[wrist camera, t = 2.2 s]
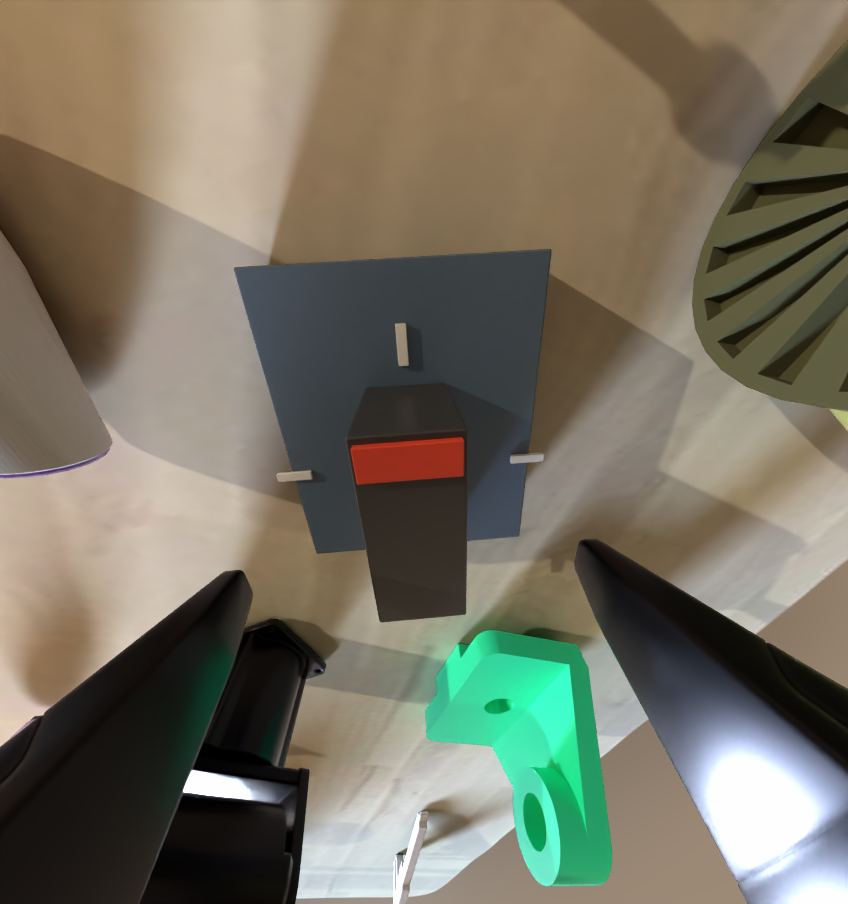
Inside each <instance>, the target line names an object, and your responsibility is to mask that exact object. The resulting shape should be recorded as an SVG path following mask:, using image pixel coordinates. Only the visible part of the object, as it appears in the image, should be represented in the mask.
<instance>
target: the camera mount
mask: <svg viewBox="0 0 848 904" xmlns="http://www.w3.org/2000/svg"><path fill="white" fill-rule="evenodd" d="M436 684H437V694H436V696H435V697H434V699H433V700H432V702H431V703H430V704H429V706H428V707H427V709H426V710H425V719H426V737H427V738H428V739H429V740H432V741H439V742H450V743H462V744H473V745H484V746H492V748H493V749H494V751H495V753H496V755H497V757H498V759H499V761H500V763H501V765H502V767H503V769H504V771H505V773H506V775H507V777H508V779H509V780H510V782H511V784H512V786H513V788H514V790H513V813H514V822H515V828H516V833H517V837H518V842H519V845H520V849H521V851H522V854H523V857H524V860H525V862H526V864H527V866H528V868H529V870H530V872H531V874H532V875H533V876H534V878H535V879H536V880H537V881H538V882H539V883H540V884H542V885H544V886H576V885H602V884H604V883H605V882H606V880H607V879H608V877H609V875H610V872H611V866H612V846H611V838H610V831H609V823H608V815H607V808H606V800H605V793H604V785H603V778H602V769H601V762H600V754H599V747H598V739H597V731H596V724H595V716H594V709H593V701H592V693H591V686H590V678H589V671H588V666H587V664H586V662H585V660H584V658H583V656H582V654H581V652H580V650H579V648H578V646H577V645H576V644H570V643H565V642H559V641H553V640H548V639H542V638H536V637H531V636H525V635H519V634H514V633H508V632H502V631H497V630H488V631H484V632H481V633H480V634H478V635H477V636H476V637H475V638H474V640H473V641H472V643H471V644H470V645H465V644H459V643H458V645H457V646H456V648H455V649H454V651H453V652H452V654H451V655H450V657H449V658H448V660H447V661H446V663H445V664H444V666H443V668H442V669H441V671H440V672H439V674H438V675H437V677H436Z"/></svg>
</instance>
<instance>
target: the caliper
mask: <svg viewBox="0 0 848 904" xmlns="http://www.w3.org/2000/svg"><path fill="white" fill-rule="evenodd" d="M427 820H428V811H426V812H418V815H417V818H416V822H415V825H414V829H413V832H412V836H411V839H410V843H409V846H408V850H407V853H406V857H405V860H404V861H403V854H396V860H394V894H393V898H394V904H406V901H407V898H408V894H409V891H410V886H409V885H410V882H411V879H412V876H413V872H414V869H415V866H416V863H417V859H418V856H419V853H420V850H421V846H422V843H423V840H424V837H425V833H426V830H427Z"/></svg>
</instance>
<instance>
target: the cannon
mask: <svg viewBox="0 0 848 904" xmlns="http://www.w3.org/2000/svg"><path fill="white" fill-rule="evenodd" d="M692 308H693V315H694V322H695V328H696V331H697V334H698V336H699V338H700V340H701V343H702V345H703V347H704V349H705V351H706V352H707V354H708V355H709V356H710V357H711V358H712V359H713V361H714V362H715V363H716V364H717V365H718V366H719V368H720V369H721V370H722V371H724V372H725V373H727V374H728V375H730V376H731V377H733V378H734V379H736V380H737V381H739V382H740V383H742V384H743V385H745V386H746V387H749V388H751V389H754V390H757V391H759V392H762V393H765V394H767V395H770V396H773V397H775V398H778V399H780V400H785V401H791V402H796V403H802V404H807V405H813V406H818V407H824V408H828V409H829V410H830V412H831V413H832V414H833V415H834V416H835V417H836V419H837V420H838V421H839V422H840V423H841V424H842V426H843V427H844V428H845V429H846V430H847V431H848V40H847V41H846V42H845V43H844V44H843V46H842V47H841V48H840V49H839V50H838V51H837V52H836V53H835V55H834V56H833V57H832V58H831V59H830V60H829V61H828V62H827V63H826V65H825V66H824V67H823V68H822V69H821V70H820V71H819V72H818V74H817V75H816V76H815V77H814V78H813V79H812V80H811V81H810V83H809V84H808V85H807V86H806V87H805V88H804V89H803V90H802V91H801V93H800V94H799V95H798V96H797V98H796V99H795V100H794V101H793V103H792V104H791V105H790V107H789V108H788V109H787V110H786V112H785V113H784V114H783V115H782V117H781V118H780V119H779V121H778V122H777V123H776V124H775V126H774V127H773V128H772V129H771V131H770V132H769V133H768V135H767V136H766V137H765V138H764V140H763V141H762V142H761V144H760V145H759V147H758V148H757V150H756V151H755V153H754V154H753V156H752V157H751V159H750V160H749V162H748V163H747V165H746V166H745V168H744V169H743V171H742V172H741V174H740V175H739V177H738V178H737V180H736V181H735V183H734V185H733V186H732V188H731V190H730V192H729V194H728V196H727V197H726V199H725V201H724V203H723V205H722V207H721V208H720V210H719V212H718V214H717V216H716V217H715V220H714V222H713V224H712V227H711V229H710V232H709V234H708V236H707V239H706V241H705V244H704V246H703V249H702V251H701V255H700V259H699V263H698V267H697V270H696V274H695V278H694V288H693V301H692Z"/></svg>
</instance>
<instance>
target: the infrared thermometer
mask: <svg viewBox="0 0 848 904" xmlns="http://www.w3.org/2000/svg"><path fill="white" fill-rule="evenodd" d="M111 445H112V438H111V437H110V435H109V433H108V431H107V429H106V427H105V425H104V423H103V421H102V419H101V417H100V415H99V413H98V411H97V409H96V407H95V405H94V404H93V402H92V400H91V398H90V396H89V394H88V392H87V390H86V388H85V386H84V384H83V382H82V380H81V378H80V376H79V374H78V372H77V370H76V368H75V366H74V364H73V362H72V360H71V358H70V356H69V354H68V352H67V350H66V348H65V346H64V344H63V342H62V340H61V338H60V336H59V334H58V332H57V330H56V328H55V326H54V324H53V322H52V320H51V318H50V316H49V314H48V312H47V310H46V308H45V306H44V304H43V302H42V300H41V298H40V296H39V294H38V292H37V290H36V288H35V286H34V284H33V282H32V280H31V278H30V276H29V274H28V272H27V270H26V268H25V266H24V265H23V263H22V262H21V260H20V259H19V257H18V256H17V254H16V253H15V251H14V250H13V248H12V247H11V245H10V244H9V242H8V241H7V239H6V238H5V236H4V235H3V233H2V232H1V230H0V478H20V477H32V476H40V475H48V474H53V473H58V472H63V471H68V470H71V469H75V468H78V467H82V466H85V465H87V464H90V463H92V462H94V461H97V460H98V459H100V458H102V457H103V456H105V455H106V454H107V452H108V451H109V450H110V447H111Z"/></svg>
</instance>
